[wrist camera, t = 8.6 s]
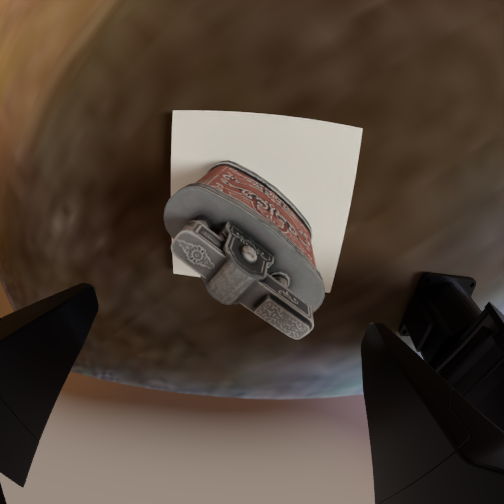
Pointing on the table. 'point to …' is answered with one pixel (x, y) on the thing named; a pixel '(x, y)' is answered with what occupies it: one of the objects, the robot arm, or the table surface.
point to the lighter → (248, 246)
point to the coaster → (276, 167)
